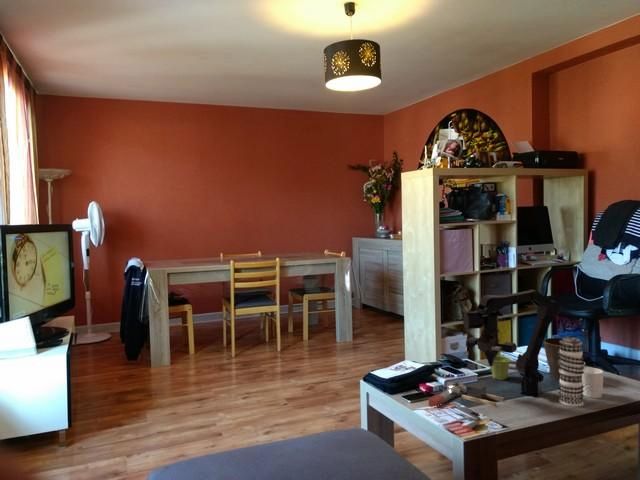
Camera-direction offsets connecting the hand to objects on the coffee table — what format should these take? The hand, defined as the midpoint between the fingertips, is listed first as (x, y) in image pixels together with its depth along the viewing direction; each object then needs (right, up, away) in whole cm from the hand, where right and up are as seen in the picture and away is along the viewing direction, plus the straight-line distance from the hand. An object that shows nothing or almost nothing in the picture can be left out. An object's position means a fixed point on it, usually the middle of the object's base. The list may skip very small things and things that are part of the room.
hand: (491, 366), depth 202 cm
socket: (-6, -13, 0) cm, 14 cm away
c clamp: (+24, -11, +37) cm, 45 cm away
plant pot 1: (+12, -11, +23) cm, 28 cm away
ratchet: (-15, -13, -2) cm, 20 cm away
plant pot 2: (+39, -11, +21) cm, 45 cm away
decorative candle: (+28, -12, -7) cm, 32 cm away
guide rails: (-4, -13, -2) cm, 14 cm away
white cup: (+40, -12, -1) cm, 42 cm away
